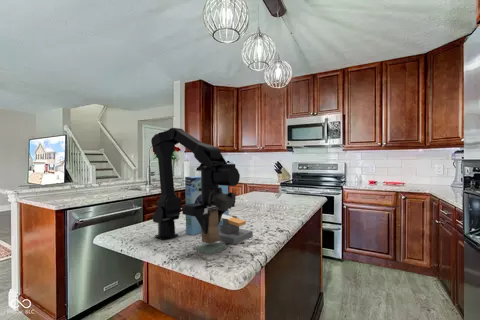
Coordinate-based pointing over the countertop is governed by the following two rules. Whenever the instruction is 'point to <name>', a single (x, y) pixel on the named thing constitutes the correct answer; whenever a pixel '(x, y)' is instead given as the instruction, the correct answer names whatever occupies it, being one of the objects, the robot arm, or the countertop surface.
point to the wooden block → (211, 228)
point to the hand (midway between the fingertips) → (210, 232)
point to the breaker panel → (233, 233)
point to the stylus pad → (211, 247)
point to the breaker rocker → (233, 220)
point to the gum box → (196, 202)
